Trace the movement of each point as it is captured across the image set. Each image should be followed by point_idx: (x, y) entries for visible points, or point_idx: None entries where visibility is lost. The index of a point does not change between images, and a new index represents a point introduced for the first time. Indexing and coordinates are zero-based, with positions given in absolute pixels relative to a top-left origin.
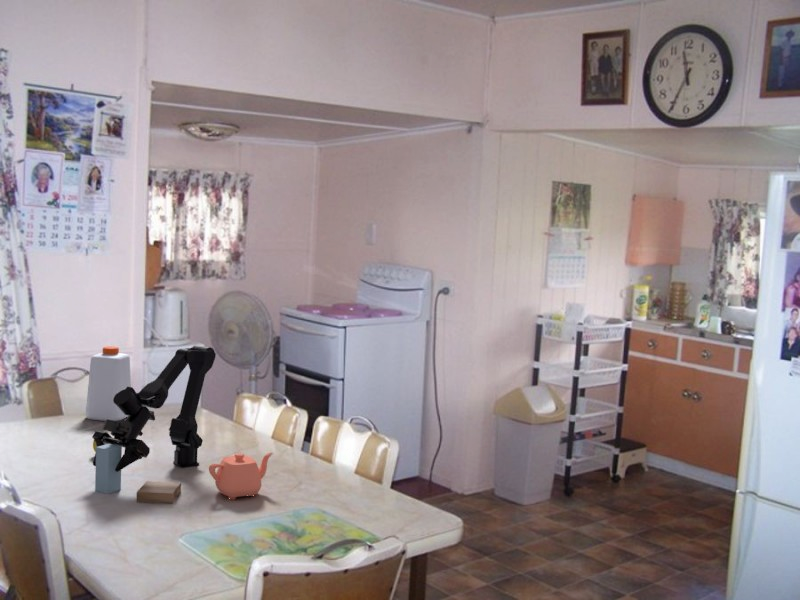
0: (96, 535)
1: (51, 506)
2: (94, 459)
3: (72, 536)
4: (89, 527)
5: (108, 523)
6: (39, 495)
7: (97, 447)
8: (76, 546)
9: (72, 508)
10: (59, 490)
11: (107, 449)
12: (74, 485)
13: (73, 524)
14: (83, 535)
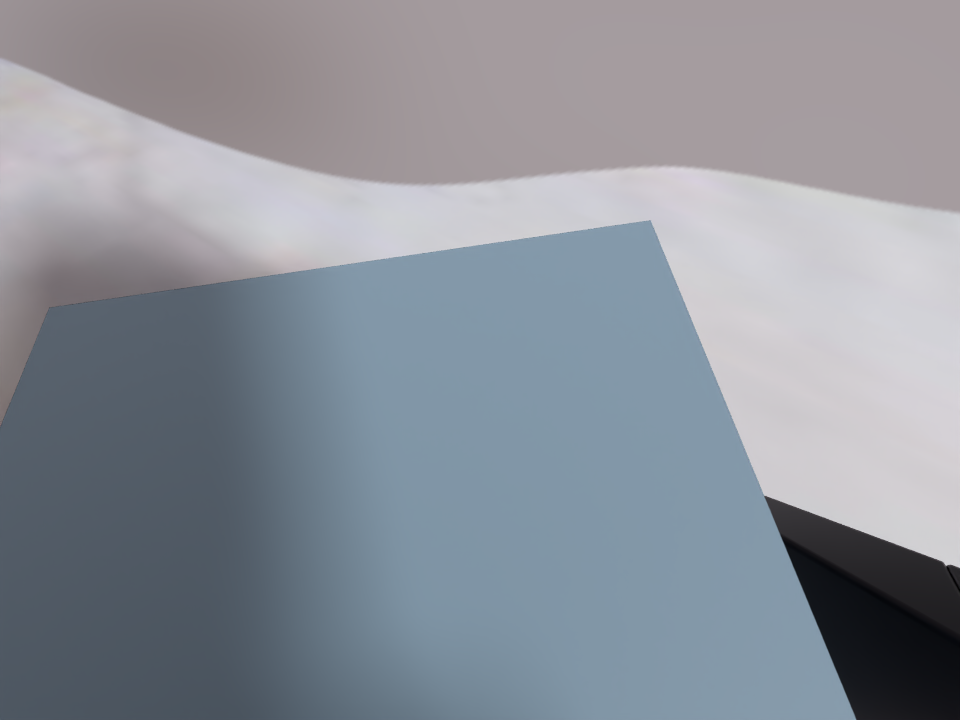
0: (11, 161)
1: (470, 186)
2: (773, 508)
3: (101, 110)
4: (93, 179)
5: (31, 249)
6: (702, 216)
7: (580, 231)
8: (30, 88)
9: (355, 236)
10: (737, 336)
11: (121, 321)
12: (813, 481)
13: (184, 155)
14: (64, 134)
